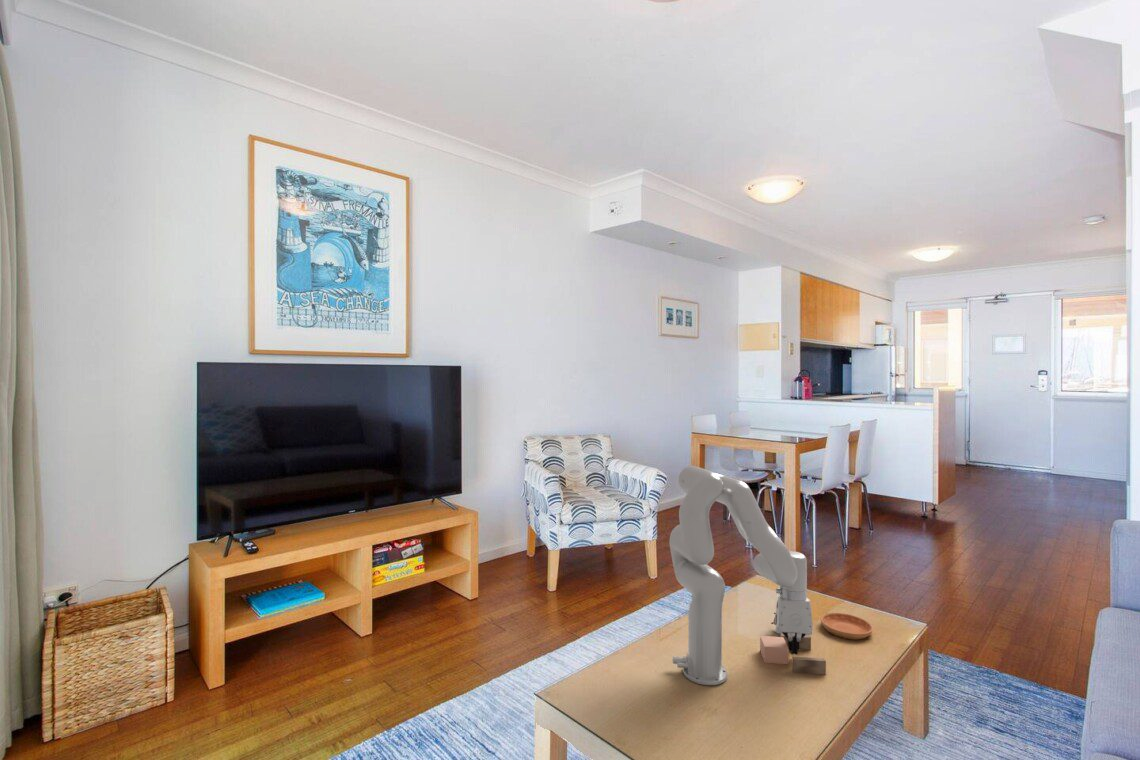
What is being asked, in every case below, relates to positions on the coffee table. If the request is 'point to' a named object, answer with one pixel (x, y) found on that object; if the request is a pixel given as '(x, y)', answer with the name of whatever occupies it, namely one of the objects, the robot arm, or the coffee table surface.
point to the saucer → (846, 625)
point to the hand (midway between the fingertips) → (793, 652)
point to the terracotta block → (774, 649)
